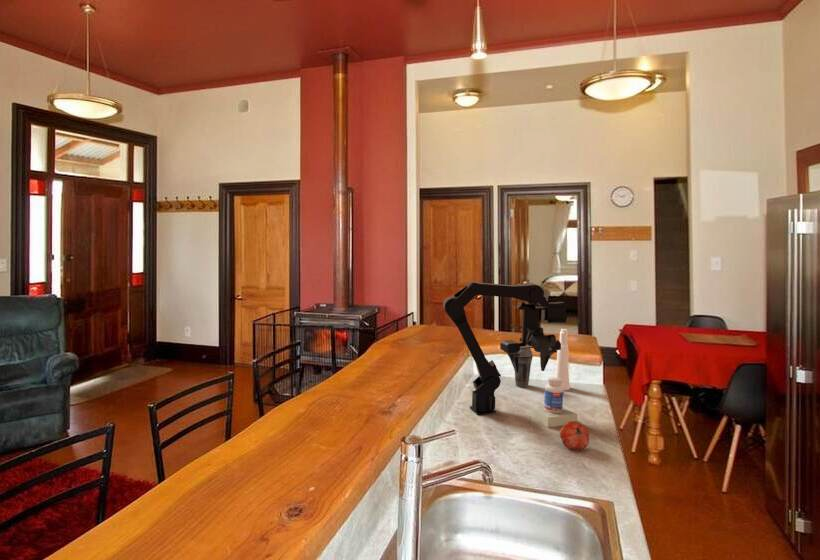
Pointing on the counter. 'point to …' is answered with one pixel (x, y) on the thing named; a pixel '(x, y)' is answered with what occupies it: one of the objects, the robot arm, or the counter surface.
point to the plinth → (552, 416)
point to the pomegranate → (575, 435)
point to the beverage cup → (524, 368)
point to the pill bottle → (553, 395)
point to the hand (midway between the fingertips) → (529, 371)
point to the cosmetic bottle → (563, 361)
